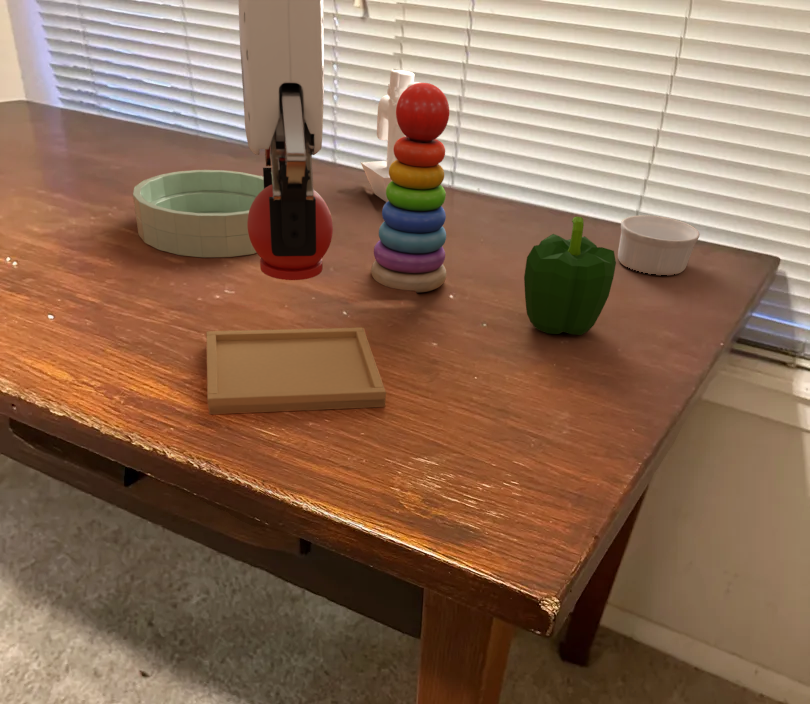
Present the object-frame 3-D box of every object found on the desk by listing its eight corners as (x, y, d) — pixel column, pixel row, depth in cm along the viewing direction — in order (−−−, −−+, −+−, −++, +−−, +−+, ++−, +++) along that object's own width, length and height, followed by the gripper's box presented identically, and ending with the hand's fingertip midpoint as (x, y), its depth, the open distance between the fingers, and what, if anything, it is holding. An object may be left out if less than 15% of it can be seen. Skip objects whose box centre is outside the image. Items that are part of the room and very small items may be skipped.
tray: (208, 414, 63) (207, 398, 62) (207, 345, 72) (206, 331, 72) (385, 407, 66) (386, 391, 65) (363, 341, 75) (363, 327, 74)
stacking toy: (440, 300, 83) (459, 96, 72) (364, 290, 84) (371, 87, 72) (449, 272, 90) (468, 80, 78) (378, 263, 90) (386, 72, 78)
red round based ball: (252, 285, 60) (245, 180, 56) (248, 254, 65) (242, 155, 61) (337, 284, 62) (338, 181, 57) (327, 253, 66) (327, 156, 62)
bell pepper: (585, 353, 76) (609, 246, 70) (504, 330, 79) (520, 225, 72) (613, 322, 82) (637, 221, 75) (537, 302, 85) (554, 203, 78)
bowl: (135, 263, 86) (128, 215, 83) (143, 212, 98) (137, 169, 95) (293, 262, 89) (292, 215, 86) (281, 213, 101) (280, 170, 98)
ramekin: (626, 245, 100) (634, 209, 97) (697, 262, 97) (708, 225, 94) (602, 266, 94) (610, 228, 91) (677, 285, 91) (688, 246, 88)
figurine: (403, 184, 114) (410, 62, 105) (435, 205, 108) (446, 77, 98) (356, 188, 111) (359, 63, 102) (386, 210, 105) (392, 78, 95)
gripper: (216, -66, 56) (235, 202, 68) (222, -45, 43) (244, 282, 55) (324, -60, 58) (325, 202, 69) (361, -37, 45) (355, 280, 56)
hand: (289, 235), depth 62 cm, fingers closed on red round based ball, 6 cm apart
